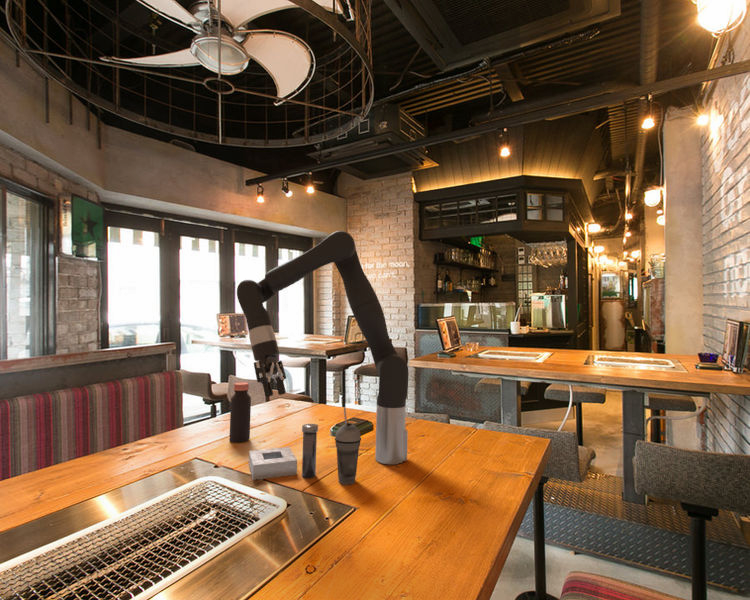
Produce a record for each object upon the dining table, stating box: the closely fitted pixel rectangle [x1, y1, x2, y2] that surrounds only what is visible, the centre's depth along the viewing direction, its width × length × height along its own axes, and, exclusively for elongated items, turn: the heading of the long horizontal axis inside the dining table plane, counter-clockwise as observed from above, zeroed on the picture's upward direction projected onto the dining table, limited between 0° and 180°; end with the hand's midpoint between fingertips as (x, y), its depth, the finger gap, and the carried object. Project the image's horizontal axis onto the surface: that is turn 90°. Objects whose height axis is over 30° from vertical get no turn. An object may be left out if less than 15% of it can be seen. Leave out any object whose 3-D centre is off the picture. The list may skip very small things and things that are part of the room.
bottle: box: [229, 381, 252, 444], centre depth 143 cm, size 7×7×20 cm
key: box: [301, 423, 319, 480], centre depth 114 cm, size 4×4×14 cm
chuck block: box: [248, 446, 298, 481], centre depth 118 cm, size 12×12×4 cm
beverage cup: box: [334, 407, 362, 486], centre depth 111 cm, size 7×7×20 cm
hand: (276, 395), depth 120 cm, fingers open, 8 cm apart
